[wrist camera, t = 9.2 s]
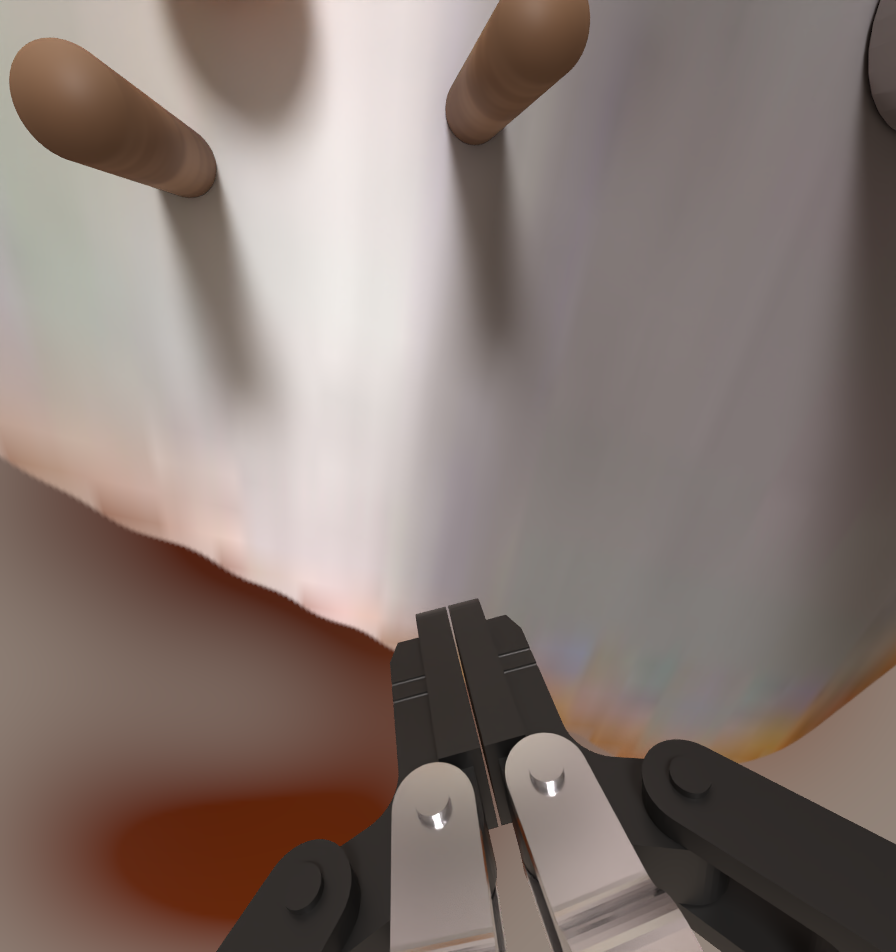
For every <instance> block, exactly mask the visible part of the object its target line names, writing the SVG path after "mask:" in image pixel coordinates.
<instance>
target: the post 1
mask: <svg viewBox="0 0 896 952" xmlns="http://www.w3.org/2000/svg"><path fill="white" fill-rule="evenodd" d="M9 83H10V92H11V97H12V100H13V104H14V106H15V109H16V111H17V113H18V115H19V117H20V119H21V121H22V122H23V124H24V125H25V127H26V128H27V129H28V131H29V132H30V133H31V135H32V136H33V137H34V138H35V139H36V140H37V141H38V142H39V143H41V144H42V145H43V146H44V147H45V148H47V149H48V150H50V151H51V152H53V153H54V154H56V155H58V156H60V157H62V158H65V159H67V160H70V161H73V162H76V163H79V164H83V165H86V166H89V167H92V168H95V169H98V170H101V171H104V172H107V173H110V174H114V175H117V176H120V177H123V178H126V179H129V180H132V181H135V182H138V183H141V184H145V185H148V186H151V187H154V188H157V189H160V190H163V191H166V192H169V193H173V194H176V195H179V196H182V197H187V198H193V197H198V196H201V195H203V194H205V193H206V192H207V191H208V190H209V189H210V188H211V187H212V185H213V183H214V181H215V177H216V162H215V158H214V155H213V152H212V150H211V148H210V147H209V145H208V144H207V142H206V141H205V140H204V139H203V138H202V137H201V136H200V135H199V134H198V133H196V132H195V131H194V130H192V129H191V128H190V127H188V126H187V125H186V124H184V123H183V122H182V121H180V120H179V119H178V118H176V117H175V116H174V115H172V114H171V113H170V112H168V111H167V110H166V109H164V108H163V107H162V106H160V105H159V104H158V103H156V102H155V101H154V100H152V99H151V98H150V97H148V96H147V95H146V94H144V93H143V92H142V91H140V90H139V89H138V88H136V87H135V86H134V85H132V84H131V83H130V82H128V81H127V80H126V79H124V78H123V77H122V76H120V75H119V74H118V73H116V72H115V71H114V70H112V69H111V68H110V67H108V66H107V65H106V64H104V63H103V62H102V61H100V60H99V59H98V58H96V57H95V56H94V55H92V54H91V53H90V52H88V51H87V50H85V49H84V48H82V47H80V46H78V45H76V44H74V43H72V42H69V41H66V40H63V39H58V38H41V39H37V40H34V41H32V42H29V43H28V44H26V45H25V46H24V47H22V49H21V50H20V51H19V52H18V53H17V55H16V56H15V58H14V60H13V63H12V65H11V70H10V77H9Z"/></svg>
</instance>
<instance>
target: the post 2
mask: <svg viewBox="0 0 896 952" xmlns="http://www.w3.org/2000/svg"><path fill="white" fill-rule="evenodd" d="M589 27H590V11H589V4H588V0H500V1H499V3H498V4H497V6H496V8H495V10H494V12H493V13H492V15H491V17H490V19H489V21H488V22H487V24H486V26H485V28H484V29H483V31H482V33H481V35H480V37H479V38H478V40H477V42H476V44H475V45H474V47H473V49H472V51H471V53H470V54H469V56H468V58H467V60H466V61H465V63H464V65H463V67H462V69H461V70H460V72H459V74H458V76H457V77H456V79H455V81H454V83H453V85H452V86H451V88H450V90H449V92H448V95H447V99H446V108H445V111H446V118H447V122H448V125H449V127H450V129H451V131H452V132H453V134H454V135H455V136H456V137H457V138H458V139H459V140H461V141H462V142H464V143H466V144H470V145H480V144H483V143H485V142H487V141H489V140H490V139H491V138H492V137H494V136H495V135H496V134H497V133H498V132H499V131H500V130H502V129H503V128H504V127H505V126H506V125H507V124H509V123H510V122H511V121H512V120H513V119H514V118H516V117H517V116H518V115H519V114H520V113H521V112H523V111H524V110H525V109H526V108H527V107H528V106H530V105H531V104H532V103H533V102H534V101H535V100H537V99H538V98H539V97H540V96H541V95H542V94H544V93H545V92H546V91H547V90H548V89H549V88H551V87H552V86H553V85H554V84H555V83H556V82H557V81H559V80H560V79H561V78H562V77H563V76H564V75H566V74H567V73H568V72H569V71H570V70H571V69H572V68H573V67H574V66H575V65H576V63H577V62H578V60H579V59H580V57H581V55H582V53H583V51H584V48H585V46H586V42H587V39H588V34H589Z"/></svg>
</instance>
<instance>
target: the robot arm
mask: <svg viewBox="0 0 896 952" xmlns="http://www.w3.org/2000/svg"><path fill="white" fill-rule="evenodd" d="M869 80H870V86H871V92H872V97H873V99H874V101H875V104H876V106H877V109H878V111H879V113H880V115H881V116H882V117H883V119H884V120H885V121H886V122H887V124H888V125H889V126H890V127H891V128H893V129H894V130H896V0H880V3H879V6H878V9H877V13H876V16H875V19H874V22H873V28H872V34H871V40H870V46H869ZM448 608H449V612H450V617H451V621H452V625H453V630H454V634H455V639H456V643H457V647H458V652H459V656H460V660H461V665H462V669H463V673H464V677H465V681H466V685H467V689H468V693H469V697H470V701H471V705H472V709H473V713H474V716H475V721H476V725H477V729H478V733H479V737H480V741H481V745H482V749H483V753H484V757H485V761H486V765H487V769H488V773H489V777H490V781H491V785H492V789H493V793H494V796H495V801H496V804H497V809H498V813H499V817H500V820H501V824H502V825H505V824H508V823H513V827H514V830H515V834H516V838H517V842H518V845H519V849H520V853H521V858H522V863H523V868H524V871H525V875H526V878H527V881H528V883H529V887H530V890H531V893H532V896H533V898H534V901H535V904H536V907H537V910H538V913H539V916H540V919H541V922H542V925H543V928H544V931H545V934H546V937H547V940H548V943H549V946H550V949H551V952H704V951H703V949H702V948H701V946H700V944H699V942H698V940H697V939H696V937H695V935H694V933H693V932H692V930H694V931H695V932H696V933H698V934H699V935H700V936H702V937H703V938H704V939H706V940H707V941H708V942H710V943H711V944H712V945H713V946H715V947H716V948H717V949H719V950H720V951H721V952H896V844H894V843H892V842H890V841H888V840H886V839H884V838H882V837H880V836H878V835H877V834H875V833H873V832H871V831H869V830H867V829H865V828H863V827H861V826H859V825H857V824H855V823H853V822H851V821H849V820H847V819H845V818H843V817H841V816H839V815H837V814H835V813H833V812H832V811H830V810H827V809H825V808H824V807H822V806H820V805H818V804H816V803H814V802H812V801H810V800H808V799H806V798H804V797H802V796H800V795H798V794H796V793H794V792H792V791H790V790H788V789H787V788H785V787H783V786H781V785H779V784H777V783H775V782H773V781H771V780H769V779H767V778H765V777H763V776H761V775H759V774H757V773H755V772H753V771H751V770H749V769H747V768H745V767H743V766H742V765H740V764H738V763H736V762H734V761H732V760H730V759H728V758H726V757H724V756H722V755H720V754H718V753H716V752H714V751H712V750H710V749H708V748H706V747H704V746H702V745H700V744H698V743H695V742H691V741H687V740H667V741H663V742H661V743H658V744H657V745H655V746H653V747H652V748H651V749H650V750H649V751H648V753H647V754H646V756H645V758H644V759H638V758H622V757H610V756H604V755H600V754H597V753H594V752H592V751H589V750H588V749H586V748H584V747H582V746H581V745H580V744H578V743H577V742H576V741H575V740H574V739H573V738H572V737H571V736H570V735H569V733H568V732H567V731H566V729H565V727H564V725H563V723H562V721H561V718H560V716H559V714H558V712H557V709H556V707H555V705H554V702H553V700H552V698H551V695H550V693H549V691H548V689H547V686H546V684H545V682H544V679H543V677H542V675H541V672H540V670H539V668H538V666H537V664H536V661H535V659H534V656H533V654H532V652H531V650H530V648H529V645H528V642H527V640H526V638H525V636H524V633H523V631H522V629H521V628H520V627H519V626H518V625H517V624H516V623H515V622H513V621H512V620H511V619H510V618H509V617H508V616H507V615H503V616H499V617H496V618H492V619H488V620H486V619H485V616H484V613H483V610H482V608H481V605H480V602H479V599H478V598H477V599H473V600H469V601H465V602H461V603H457V604H453V605H450V606H448ZM416 622H417V628H418V635H419V638H415V639H411V640H408V641H404V642H400V643H398V644H397V647H396V649H395V652H394V654H393V657H392V660H391V662H390V666H391V680H392V692H393V702H394V718H395V730H396V744H397V755H398V756H397V757H398V770H399V778H398V784H397V788H396V792H395V794H394V797H393V799H392V801H391V803H390V804H389V806H388V808H387V809H386V810H385V812H384V813H383V814H382V816H381V817H380V818H379V819H378V820H377V821H376V822H375V823H374V824H372V825H371V826H369V827H368V828H367V829H365V830H364V831H362V832H361V833H360V834H358V835H357V836H355V837H354V838H353V839H351V840H349V841H348V842H346V843H345V844H343V845H342V846H338V845H337V844H336V843H334V842H331V841H329V840H323V839H317V840H311V841H307V842H305V843H303V844H300V845H299V846H297V847H295V848H294V849H292V850H291V851H290V852H288V853H287V854H286V855H285V856H284V857H283V858H282V859H281V860H280V861H279V862H278V863H277V865H276V866H275V867H274V869H273V870H272V871H271V873H270V875H269V876H268V877H267V879H266V880H265V882H264V883H263V885H262V886H261V887H260V889H259V890H258V892H257V893H256V895H255V896H254V898H253V899H252V901H251V902H250V903H249V905H248V906H247V908H246V909H245V911H244V912H243V914H242V915H241V917H240V918H239V919H238V921H237V922H236V924H235V925H234V927H233V928H232V930H231V931H230V933H229V934H228V935H227V937H226V938H225V940H224V941H223V943H222V944H221V946H220V947H219V948H218V950H217V951H216V952H507V947H506V941H505V934H504V927H503V921H502V915H501V908H500V902H499V895H498V888H497V882H496V878H497V868H496V862H495V857H494V853H493V849H492V844H491V840H490V835H489V831H488V830H489V829H492V828H496V827H498V824H497V819H496V814H495V810H494V806H493V801H492V797H491V793H490V788H489V784H488V779H487V775H486V770H485V766H484V762H483V758H482V753H481V749H480V744H479V740H478V736H477V732H476V728H475V724H474V720H473V716H472V712H471V708H470V704H469V700H468V696H467V692H466V687H465V683H464V679H463V675H462V671H461V667H460V663H459V659H458V655H457V651H456V647H455V643H454V639H453V635H452V631H451V627H450V623H449V619H448V615H447V610H446V607H442V608H438V609H435V610H431V611H427V612H423V613H419V614H416ZM691 929H692V930H691Z"/></svg>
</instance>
